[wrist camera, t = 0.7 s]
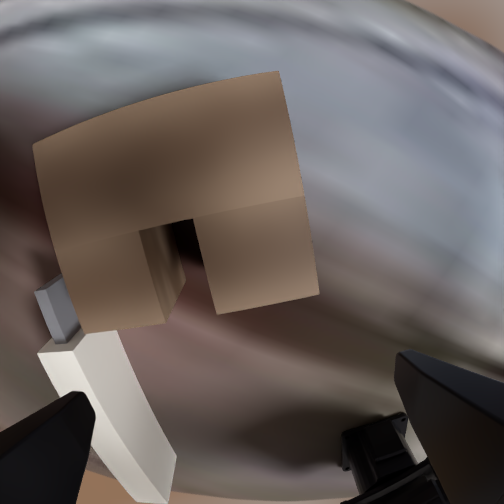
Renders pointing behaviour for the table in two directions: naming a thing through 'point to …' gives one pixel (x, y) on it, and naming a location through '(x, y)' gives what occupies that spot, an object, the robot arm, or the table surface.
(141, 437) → the white curved bar
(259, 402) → the table surface
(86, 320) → the tan notched block
